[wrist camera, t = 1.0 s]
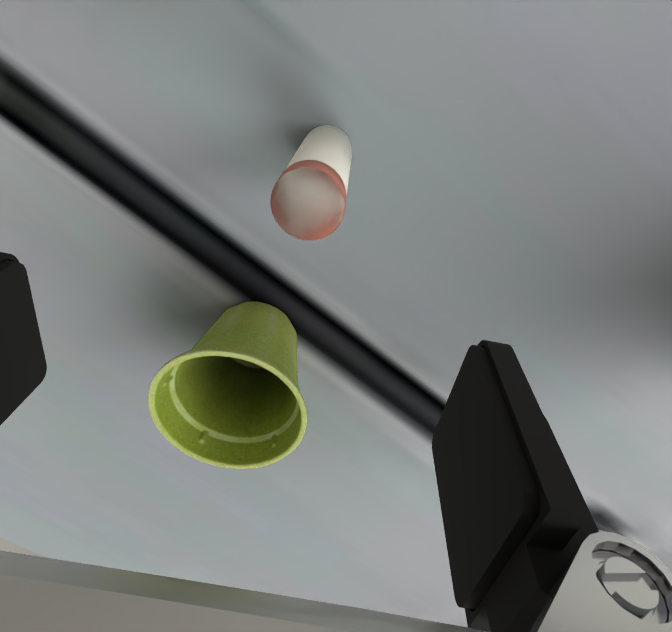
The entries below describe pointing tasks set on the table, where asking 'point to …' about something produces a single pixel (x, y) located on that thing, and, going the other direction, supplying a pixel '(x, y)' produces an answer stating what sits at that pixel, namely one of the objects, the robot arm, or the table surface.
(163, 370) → the plant pot
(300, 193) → the pink-tipped cream rod
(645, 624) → the robot arm
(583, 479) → the table surface
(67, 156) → the table surface
